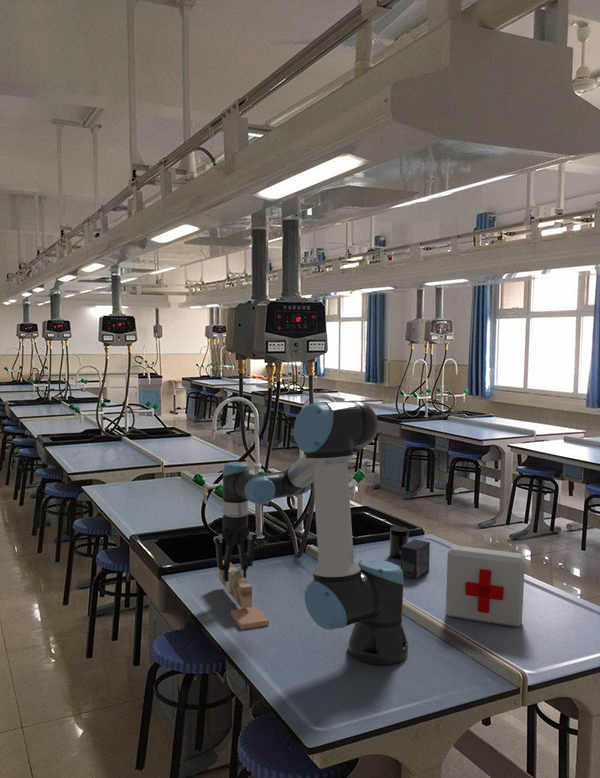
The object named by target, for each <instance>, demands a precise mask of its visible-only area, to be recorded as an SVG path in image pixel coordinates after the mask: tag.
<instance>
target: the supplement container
mask: <svg viewBox="0 0 600 778" xmlns="http://www.w3.org/2000/svg"><path fill="white" fill-rule="evenodd" d="M409 531H410V529H409V528H408V527H406V526H397V525H396V526H391V527H390V529H389V556H390V558H392V559H395V560H401V546H403V545H405V544H406V543H408V542H409V535H410V533H409Z"/></svg>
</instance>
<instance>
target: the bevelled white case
mask: <svg viewBox="0 0 600 778" xmlns="http://www.w3.org/2000/svg"><path fill="white" fill-rule="evenodd" d="M448 549H449V550H448V552H447V563H446V566H447V567H446V585H445V586H446V589H445V590H446V591H445V595H446V596H445V613H446V615H447V616H448V617H451V618H456V619H461V620H468V621H473V622H474V621H475V622H481V623H487V624H492V623H494V624H493V625H498V624H501V626H504V625H509V626H508V627H511V626H515V627H514V628H517V627H518V628H519V627H520V626H521V625H523V609H524V608H523V606H524V588H525V587H524V585H525V584H524V583H525V567H526V565H525V564H526V559H525V556H524V555H523V554H522V553H520V552H512V551H504V550H496V549H495V550H494V549H487V548H481V547H472V546H464V545H456V544H453V545H452V546H451V547H450V548H448Z"/></svg>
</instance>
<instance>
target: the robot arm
mask: <svg viewBox="0 0 600 778" xmlns="http://www.w3.org/2000/svg"><path fill="white" fill-rule="evenodd" d="M378 430H379V420H378V417H377V414H376V412H375V411H374V410H373V408H372V407H370V406H369V405H368V404H366V403H365V402H362V401H359V400H341V401H340V400H339V401H320V402H315V403H313V402H312V403H309V404H307V405H305V406H303V407H302V408H301V410H300V411H299V413H298V414H297V416H296V418H295V421H294V427H293V438H294V441H295V443H296V444H297V447H298V449H299V450H301V451H302V452H304V454H303V456H301V457H300V458H299V459H297V460H296V461H295V462H294V463H293V464H292V465H290V466H289V467H288V468H286V469H285V470H284V471H275V472H269V473H262V474H260V473H259V474H254V473H250V470H249V469H250V468H249V465H248V463H246V462H243V461H242V462H241V461H230V462H227V463H225V464H224V466H223V472H222V473H223V474H222V513H223V515H222V530H221V532H220V534H219V535H217V536H215V535H214V536H213V537H212V540H213V542H214V544H215V555H216V556H215V557H216V567H217V568H218V570H219V569H220V570H223V579H224V581H225V582H226V588H225V589H226V591H227V593H228V594H230V593H231V570H230V569H229V567H230V562H231V561H232V560H231V559H232V553H233V549H234V546H237V549H238V556H239V563H240V566H238V567H237V570H238V571H239V572H240V574H241V575H242V576H243V577H244V578H245V579H246V580H247V570H248V568H249V567H250V568H251V567H252V566H253V564H254V553H255V552H254V551H255V542H256V540H257V538H258V535H257V534H256V533H254V531H253V532H251V531H250V529H249V526H248V525H249V515H248V514H249V502H251V503H252V504H256V505H267V504H268V503H270V502H271V501H272V500H276V499H281V498H287V497H292V496H293V497H294V496H295V497H296V496H300V495H303V494H306V493H308V492H309V491H310V489H311V486H312V483H313V496H314V511H315V512H314V513H315V527H316V528H315V529H316V541H317V555H318V557H317V558H318V563H317V565H316V566H315V567H314V569H313V570H312V573H313V574H312V577H313V581H311V582H310V583H309V584H308V585H306V588H305V590H304V602H305V603H304V604H305V607H306V610H307V611H308V612H307V613H308V614H309V617H310V618H312V621H314V623H315V624H316V625H317V626H318V627H319V628H321V629H324V630H327V631H333V630H337V629H343V628H345V627H347V626H350V625H353V624H354V625H353V628H352V631H351V634H350V636H349V639H348V652H349V654H350V655H351V656H352V657H353V658H355V659H356V660H358V661H360V662H363V663H365V664H370V665H377V666H390V665H395V664H398V663H401V662H402V661H404V660H405V659H406V658H407V657H408V654H409V644H408V640H407V637H406V633H405V629H404V627H403V605H404V603H403V602H404V585H405V582H404V577H403V571H402V569H401V566H399V565H397V564H396V563H393V562H390V561H387V560H383V559H378V558H377V559H376V558H364V559H360V560H359V561H358V563H356V562H355V559H354V558H355V556H354V544H353V543H354V541H353V530H352V513H351V500H350V499H351V498H350V485H349V484H350V483H349V468H348V467H349V466H348V463H349V461H350V460H352V458H353V456H354V453H355V454H356V453H359V452H360V451H362V450H363V449H364V448H366V447H367V446H368V445H369V444H371V443H372V442H373V440H374V439H375V438H376V436H377V434H378ZM246 539H248V542H247V550H246V552H245V541H246ZM223 540H224V541H225V553H224V557H223V548H222V547H223V546H222V543H223ZM223 560H224V564H223Z"/></svg>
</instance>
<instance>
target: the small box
mask: <svg viewBox="0 0 600 778" xmlns="http://www.w3.org/2000/svg"><path fill="white" fill-rule="evenodd" d="M430 544H431V542H430V541H428V540H427V541H426V540H421V539H415V538H413V539H412V540H410V541H408V543H406V544H405V545H403V546H401V559H400V568H401V569H402V571H403V576H404V577H403V578H407V577H408V579H411V578H412V580H415V579H417V580H418V579H419V577H420V578H421V577H423V576H424V575H426V574H427V573H429V572H430V549H431V545H430Z"/></svg>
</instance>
